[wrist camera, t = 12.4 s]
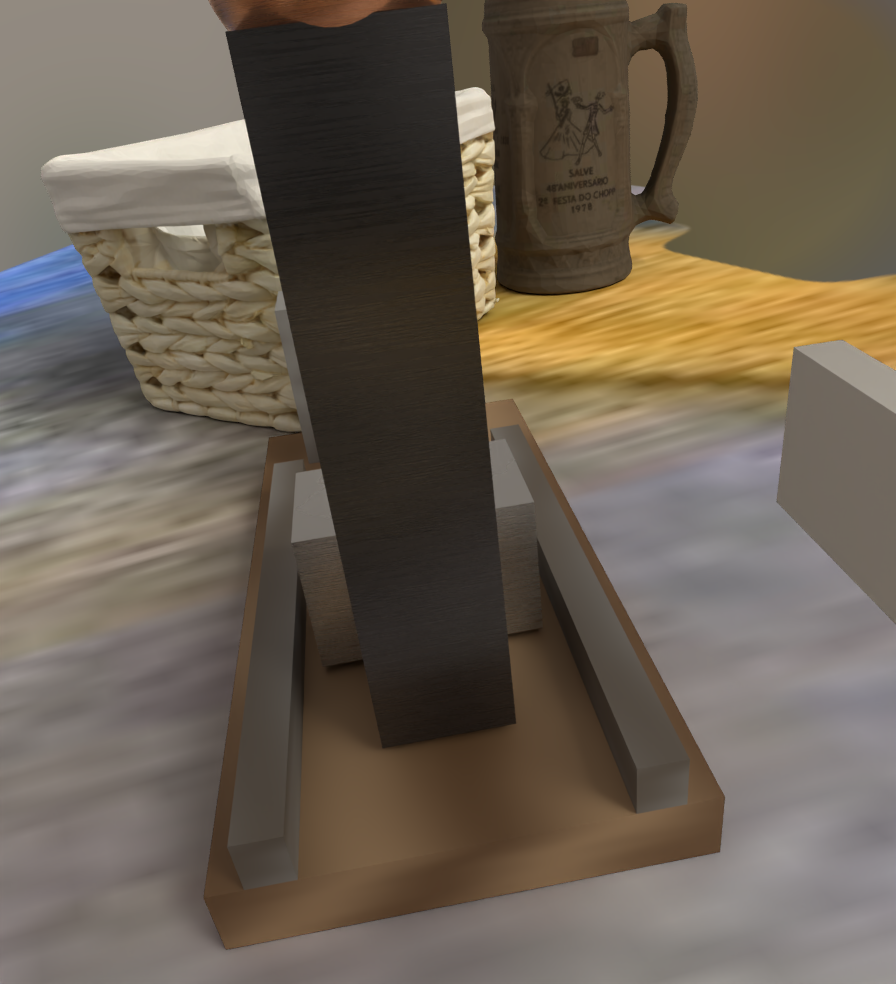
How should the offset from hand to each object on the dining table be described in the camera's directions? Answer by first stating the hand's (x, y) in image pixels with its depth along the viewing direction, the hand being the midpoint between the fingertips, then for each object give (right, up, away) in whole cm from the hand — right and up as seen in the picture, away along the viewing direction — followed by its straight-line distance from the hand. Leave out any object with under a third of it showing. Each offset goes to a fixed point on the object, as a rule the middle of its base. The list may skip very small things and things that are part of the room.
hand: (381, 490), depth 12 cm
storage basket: (-7, +9, +41) cm, 43 cm away
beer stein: (+13, +18, +52) cm, 56 cm away
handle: (+1, -5, +11) cm, 12 cm away
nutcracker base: (0, -4, +17) cm, 18 cm away
